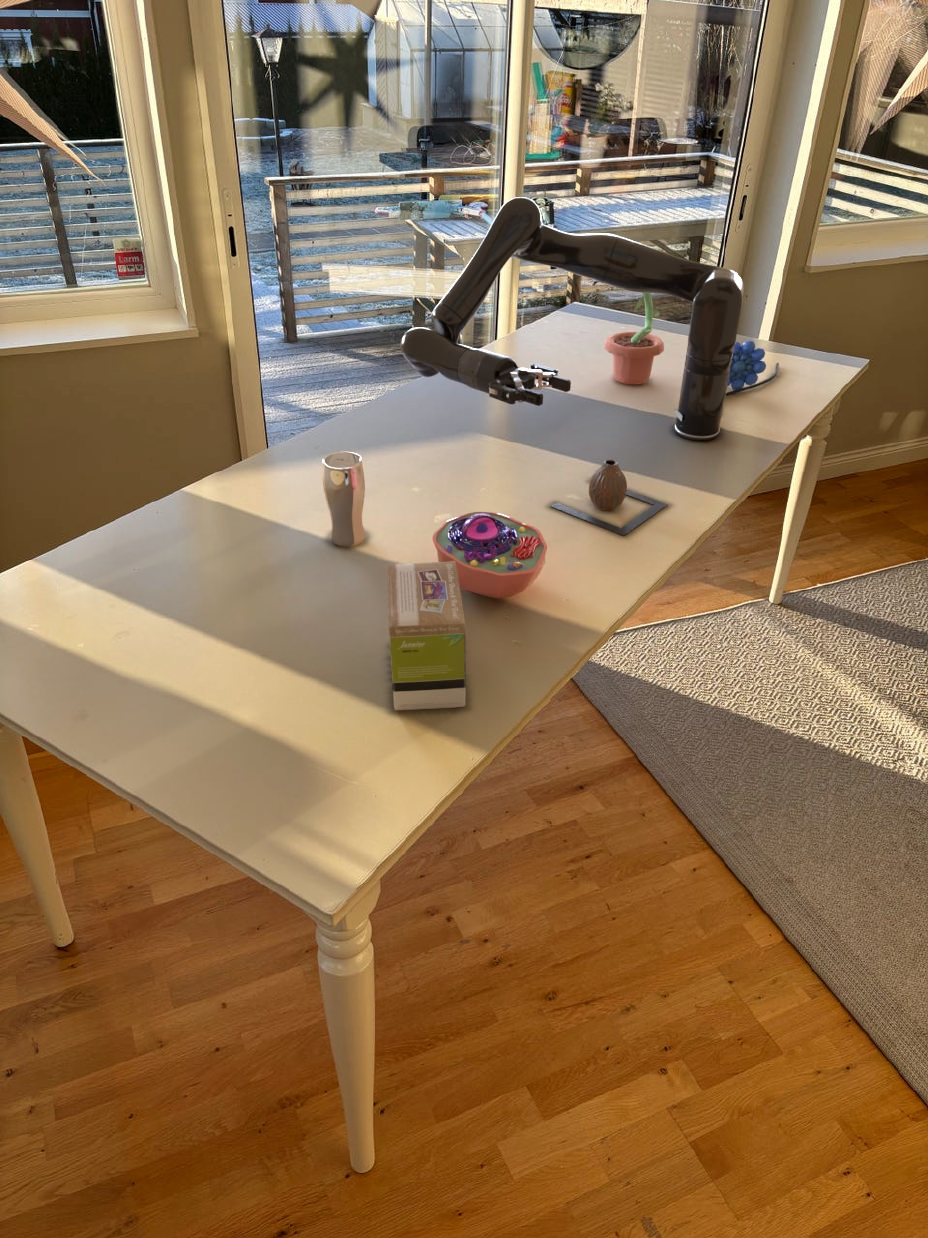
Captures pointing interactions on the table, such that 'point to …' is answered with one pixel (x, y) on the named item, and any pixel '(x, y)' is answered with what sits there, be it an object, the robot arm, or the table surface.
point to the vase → (608, 486)
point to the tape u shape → (621, 531)
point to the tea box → (426, 636)
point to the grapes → (746, 365)
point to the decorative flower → (635, 348)
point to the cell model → (491, 553)
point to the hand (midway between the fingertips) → (556, 393)
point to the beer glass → (345, 497)
